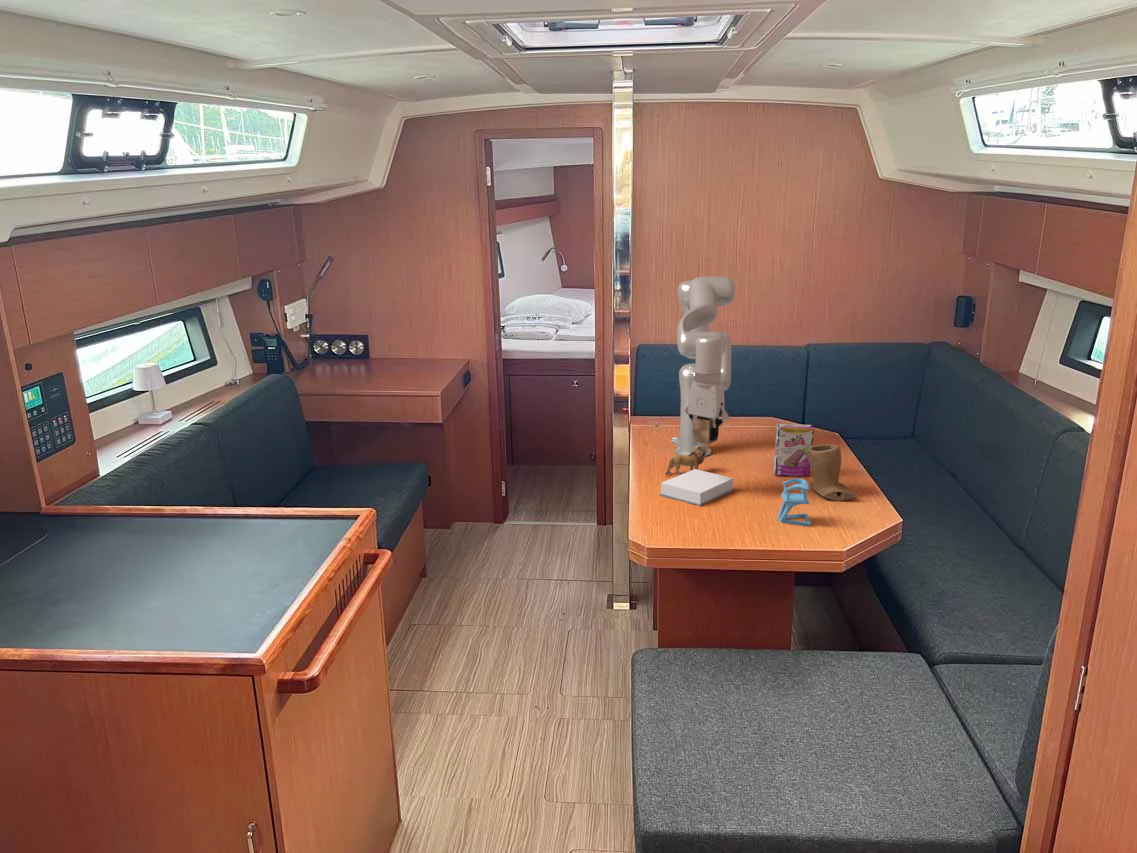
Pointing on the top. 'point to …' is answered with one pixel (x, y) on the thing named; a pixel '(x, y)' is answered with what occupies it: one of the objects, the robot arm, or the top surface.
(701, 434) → the walnut block
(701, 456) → the lion figurine
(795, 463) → the candy bar box
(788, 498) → the chair
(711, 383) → the robot arm
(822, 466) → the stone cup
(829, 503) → the top surface
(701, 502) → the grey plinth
